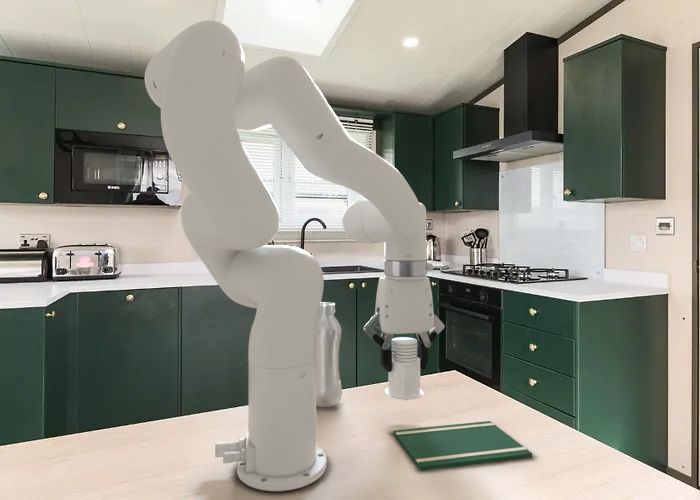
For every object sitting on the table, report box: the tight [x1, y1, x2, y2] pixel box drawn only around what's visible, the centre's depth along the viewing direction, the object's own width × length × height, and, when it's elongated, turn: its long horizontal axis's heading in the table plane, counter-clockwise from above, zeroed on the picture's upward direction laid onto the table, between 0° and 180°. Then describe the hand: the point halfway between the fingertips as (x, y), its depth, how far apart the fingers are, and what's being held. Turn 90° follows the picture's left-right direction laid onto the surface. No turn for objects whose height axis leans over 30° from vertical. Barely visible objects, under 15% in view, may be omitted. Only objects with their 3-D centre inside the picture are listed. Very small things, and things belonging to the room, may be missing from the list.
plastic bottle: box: [316, 301, 343, 408], centre depth 86 cm, size 6×7×20 cm
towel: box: [392, 420, 533, 471], centre depth 70 cm, size 18×12×1 cm, turn 103°
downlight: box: [384, 336, 424, 401], centre depth 81 cm, size 8×7×10 cm
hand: (404, 367), depth 81 cm, fingers closed on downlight, 5 cm apart
